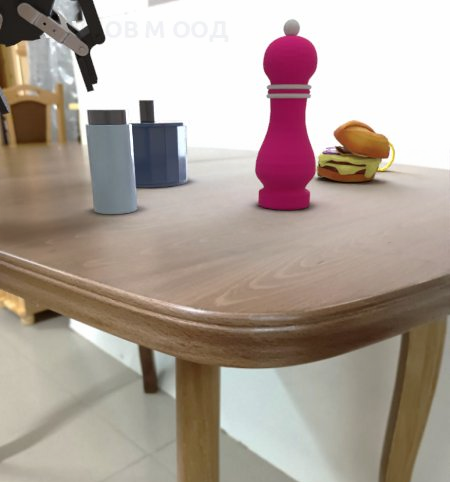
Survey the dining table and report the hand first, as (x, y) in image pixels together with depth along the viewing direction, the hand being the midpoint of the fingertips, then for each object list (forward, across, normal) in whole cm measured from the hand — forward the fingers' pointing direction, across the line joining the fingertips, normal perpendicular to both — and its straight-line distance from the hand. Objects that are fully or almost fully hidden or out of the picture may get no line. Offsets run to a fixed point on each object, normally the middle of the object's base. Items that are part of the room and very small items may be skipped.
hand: (47, 98), depth 49 cm
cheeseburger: (+29, -40, -4) cm, 49 cm away
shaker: (+13, -3, +4) cm, 14 cm away
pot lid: (+18, -11, -17) cm, 27 cm away
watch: (+36, -49, -10) cm, 61 cm away
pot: (+25, -9, -12) cm, 29 cm away
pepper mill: (+16, -22, +9) cm, 29 cm away
